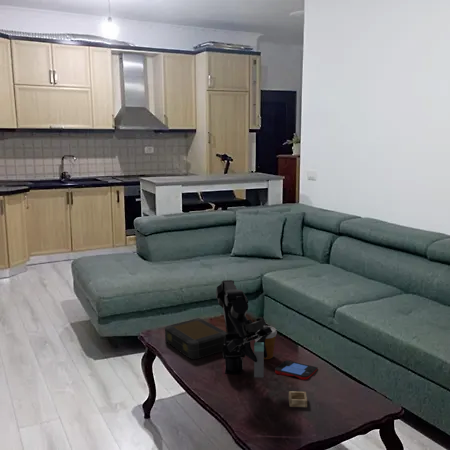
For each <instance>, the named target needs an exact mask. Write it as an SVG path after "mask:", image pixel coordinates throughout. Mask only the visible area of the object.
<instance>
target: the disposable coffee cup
mask: <svg viewBox="0 0 450 450" xmlns="http://www.w3.org/2000/svg"><path fill="white" fill-rule="evenodd" d="M267 326H268V327H270V328H271V330H272V333H271V334H270V335H268V336H267V337H266V339H265V346H266V351H267V356H268V357H267V358H265V357H264V360H270V359H273V357H274V351H275V344H276V338H277V337H276V336H277V334H278V331H277V329H276V328H275V327H273V326H271V325H270V326H269V325H265V326H264V327H267ZM256 333H257V332H256Z"/></svg>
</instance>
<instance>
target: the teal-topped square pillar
mask: <svg viewBox="0 0 450 450" xmlns="http://www.w3.org/2000/svg"><path fill="white" fill-rule="evenodd" d="M253 345H254V346H253V347H254V349H253V352H254V354H255V356H256V358H257V362H254V361H253V365H254V366H253V369H254V370H253V378H264V377H265V376H264V371H265V370H264V369H265V367H264V365H265V364H264V363H265V361H264V360H265V359H264V342H256V341H255V342H254V344H253Z"/></svg>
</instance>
